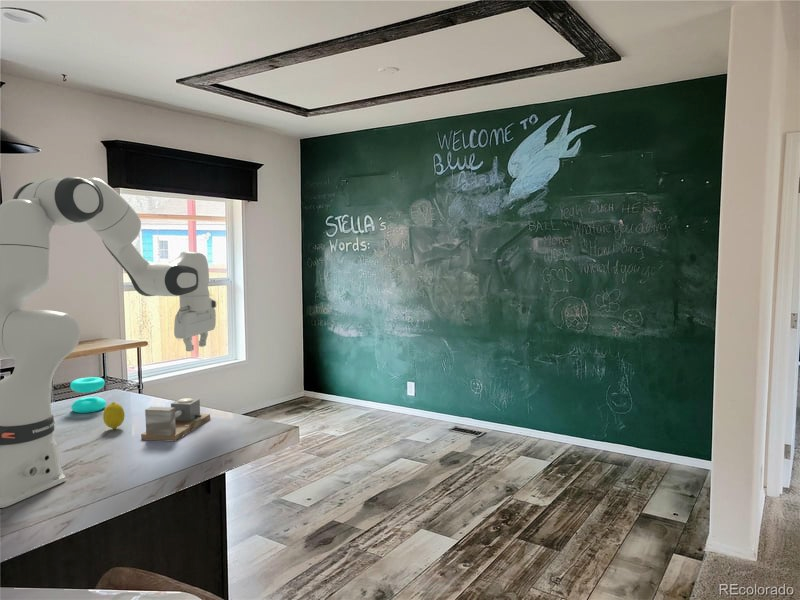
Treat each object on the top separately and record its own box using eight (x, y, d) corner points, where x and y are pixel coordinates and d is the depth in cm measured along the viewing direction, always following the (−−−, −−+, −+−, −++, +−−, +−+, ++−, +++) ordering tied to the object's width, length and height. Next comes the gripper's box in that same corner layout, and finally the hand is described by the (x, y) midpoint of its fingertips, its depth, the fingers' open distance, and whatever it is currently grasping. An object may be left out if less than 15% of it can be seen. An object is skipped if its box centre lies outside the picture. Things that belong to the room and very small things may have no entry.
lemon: (128, 426, 172) (127, 400, 171) (118, 432, 167) (116, 405, 166) (111, 426, 173) (109, 399, 172) (99, 432, 167) (98, 404, 166)
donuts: (73, 384, 182) (67, 379, 190) (75, 415, 183) (68, 409, 191) (108, 380, 189) (100, 374, 196) (109, 410, 189) (102, 403, 197)
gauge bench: (175, 441, 159) (174, 410, 158) (141, 439, 160) (140, 409, 160) (210, 418, 180) (209, 391, 179) (179, 417, 181) (178, 390, 180)
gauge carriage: (191, 423, 169) (191, 405, 168) (166, 422, 170) (166, 404, 169) (205, 415, 177) (205, 398, 177) (181, 414, 178) (181, 397, 178)
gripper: (187, 308, 169) (189, 355, 170) (218, 301, 189) (220, 343, 191) (167, 307, 170) (169, 354, 171) (200, 301, 190) (201, 343, 191)
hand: (196, 348), depth 181 cm, fingers open, 7 cm apart
